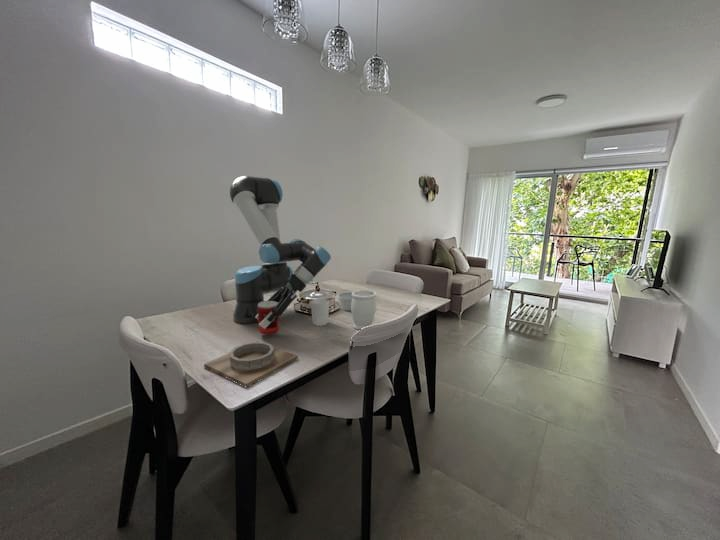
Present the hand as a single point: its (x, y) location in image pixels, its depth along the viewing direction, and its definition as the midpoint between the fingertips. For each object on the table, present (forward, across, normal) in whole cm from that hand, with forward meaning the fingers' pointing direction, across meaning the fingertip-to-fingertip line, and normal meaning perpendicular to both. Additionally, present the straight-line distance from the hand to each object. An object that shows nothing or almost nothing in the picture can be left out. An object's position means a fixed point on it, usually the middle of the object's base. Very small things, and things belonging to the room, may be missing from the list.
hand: (259, 322), depth 112 cm
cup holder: (+8, -20, 0) cm, 22 cm away
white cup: (-14, +4, -23) cm, 27 cm away
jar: (-25, -8, -33) cm, 43 cm away
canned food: (0, 0, -5) cm, 5 cm away
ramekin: (-30, +18, -38) cm, 52 cm away
